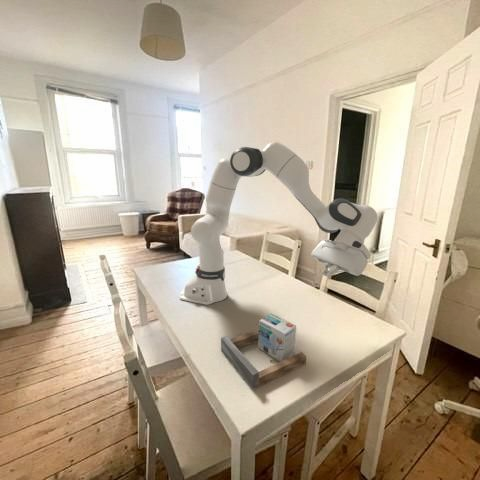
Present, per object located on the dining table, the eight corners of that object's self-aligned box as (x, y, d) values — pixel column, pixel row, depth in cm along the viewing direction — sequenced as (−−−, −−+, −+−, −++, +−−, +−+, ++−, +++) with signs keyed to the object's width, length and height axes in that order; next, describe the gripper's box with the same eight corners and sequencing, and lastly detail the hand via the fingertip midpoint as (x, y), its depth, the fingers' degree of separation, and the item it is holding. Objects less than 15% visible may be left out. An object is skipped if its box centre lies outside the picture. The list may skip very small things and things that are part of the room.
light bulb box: (257, 347, 91) (258, 319, 88) (269, 339, 96) (271, 312, 93) (282, 363, 84) (284, 334, 81) (295, 353, 88) (297, 325, 86)
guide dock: (268, 332, 100) (269, 320, 98) (305, 363, 84) (306, 350, 83) (221, 350, 90) (220, 337, 88) (252, 390, 74) (252, 375, 73)
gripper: (320, 233, 103) (300, 262, 101) (369, 246, 86) (346, 281, 84) (327, 243, 106) (308, 270, 104) (375, 257, 90) (353, 290, 87)
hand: (325, 275), depth 94 cm, fingers closed
